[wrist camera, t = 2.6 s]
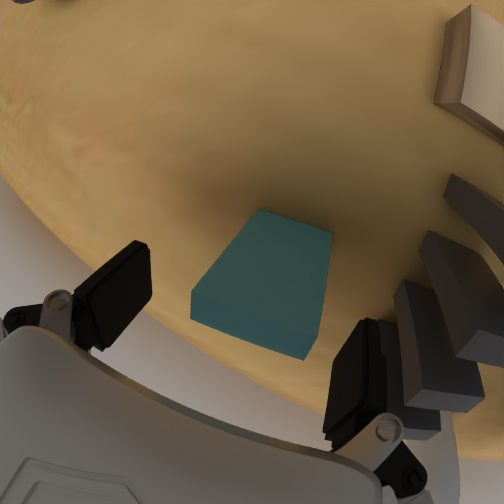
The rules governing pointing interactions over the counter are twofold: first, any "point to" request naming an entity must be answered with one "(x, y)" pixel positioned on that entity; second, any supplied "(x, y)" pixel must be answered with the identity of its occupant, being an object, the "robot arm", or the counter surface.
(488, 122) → the oak block
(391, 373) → the domino
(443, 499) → the drinking glass
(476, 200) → the domino
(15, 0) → the apothecary jar
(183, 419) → the robot arm
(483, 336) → the domino
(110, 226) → the counter surface
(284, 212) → the counter surface
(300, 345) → the domino teal
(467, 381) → the domino
